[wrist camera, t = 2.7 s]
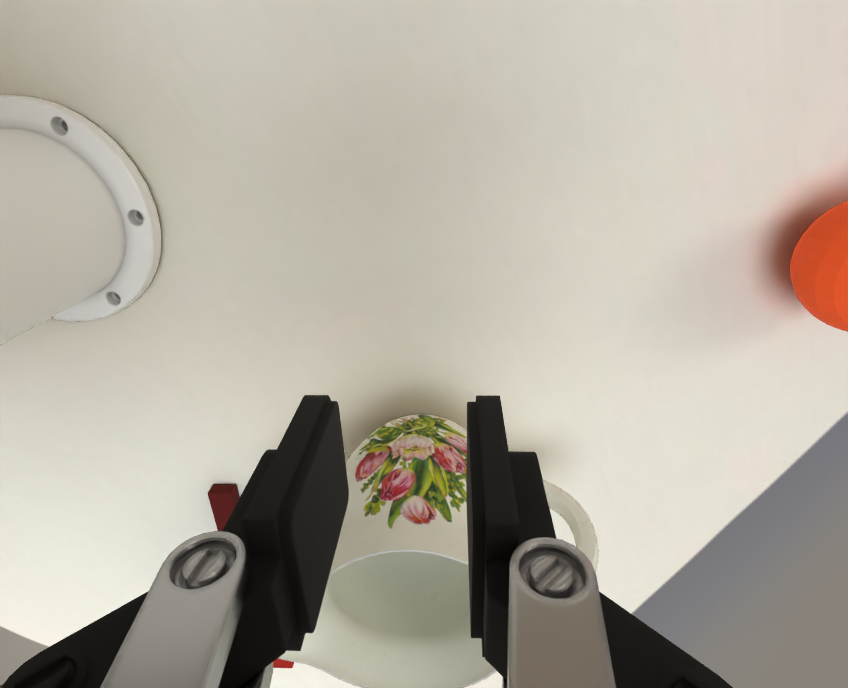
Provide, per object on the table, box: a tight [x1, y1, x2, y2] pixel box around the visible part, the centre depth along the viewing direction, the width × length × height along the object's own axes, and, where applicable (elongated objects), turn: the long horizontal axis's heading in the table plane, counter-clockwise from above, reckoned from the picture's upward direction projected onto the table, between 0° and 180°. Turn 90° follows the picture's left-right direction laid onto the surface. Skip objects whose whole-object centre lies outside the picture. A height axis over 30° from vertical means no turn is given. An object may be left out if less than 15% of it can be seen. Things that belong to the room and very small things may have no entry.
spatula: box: [208, 484, 294, 668], centre depth 42 cm, size 5×21×1 cm, turn 2°
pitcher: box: [278, 414, 598, 688], centre depth 30 cm, size 11×18×14 cm, turn 92°
